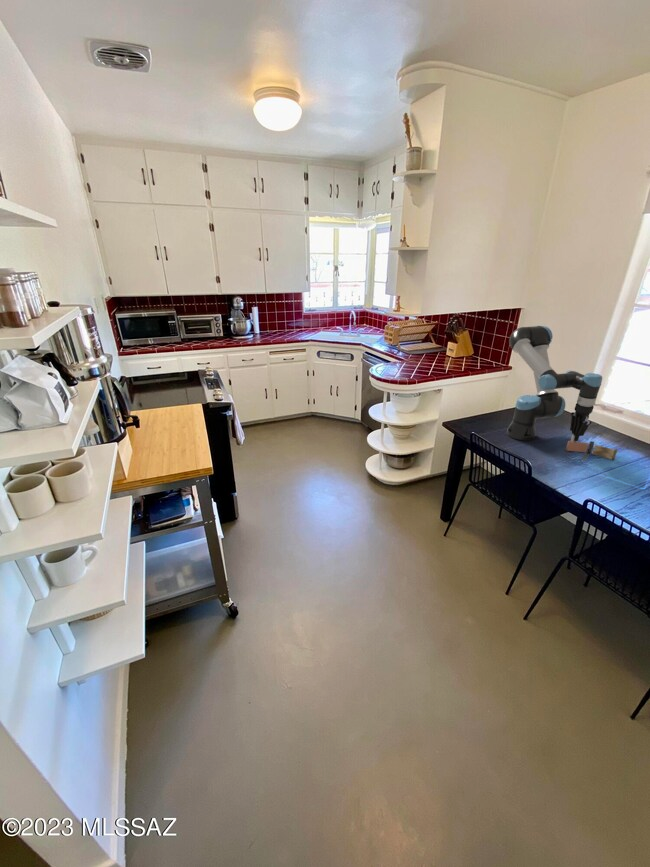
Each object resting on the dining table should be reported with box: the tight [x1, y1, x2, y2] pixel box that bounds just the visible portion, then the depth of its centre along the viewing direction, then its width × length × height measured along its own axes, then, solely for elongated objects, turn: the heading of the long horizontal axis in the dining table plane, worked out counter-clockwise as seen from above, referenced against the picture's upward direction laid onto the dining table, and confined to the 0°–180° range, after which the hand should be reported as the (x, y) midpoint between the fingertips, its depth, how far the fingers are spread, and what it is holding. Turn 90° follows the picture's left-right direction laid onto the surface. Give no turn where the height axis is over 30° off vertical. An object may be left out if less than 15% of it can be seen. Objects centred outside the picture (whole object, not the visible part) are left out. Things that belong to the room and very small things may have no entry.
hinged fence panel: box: [564, 440, 590, 453], centre depth 190 cm, size 9×1×6 cm, turn 74°
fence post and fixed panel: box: [586, 440, 618, 461], centre depth 185 cm, size 12×2×6 cm, turn 43°
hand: (572, 445), depth 192 cm, fingers closed
